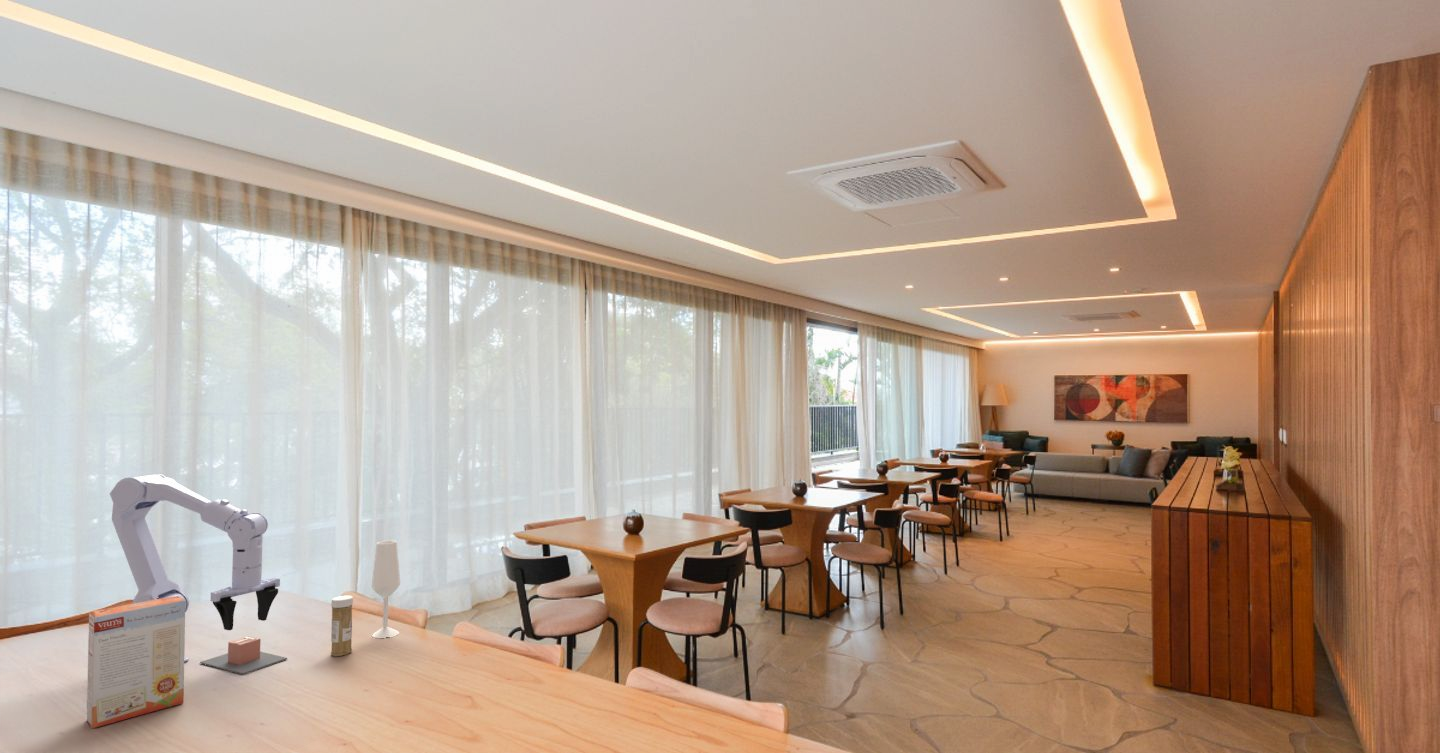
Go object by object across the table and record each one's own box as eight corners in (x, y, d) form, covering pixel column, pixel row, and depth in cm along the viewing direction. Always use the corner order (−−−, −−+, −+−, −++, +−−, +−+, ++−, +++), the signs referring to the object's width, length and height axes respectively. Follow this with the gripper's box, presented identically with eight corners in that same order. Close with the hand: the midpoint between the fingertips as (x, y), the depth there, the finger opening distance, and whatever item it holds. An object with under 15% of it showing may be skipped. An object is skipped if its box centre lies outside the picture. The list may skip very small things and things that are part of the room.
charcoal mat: (199, 663, 158) (200, 661, 159) (244, 649, 168) (245, 647, 168) (242, 674, 152) (242, 673, 152) (287, 659, 161) (287, 657, 161)
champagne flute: (364, 637, 176) (366, 543, 177) (384, 629, 183) (386, 538, 184) (385, 639, 174) (387, 545, 175) (405, 631, 181) (406, 540, 182)
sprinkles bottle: (352, 654, 164) (353, 598, 165) (331, 658, 162) (332, 601, 162) (350, 648, 168) (352, 593, 169) (329, 652, 166) (330, 596, 166)
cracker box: (176, 696, 141) (179, 593, 142) (184, 704, 137) (187, 599, 138) (84, 720, 130) (88, 609, 131) (90, 730, 126) (94, 615, 127)
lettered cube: (227, 661, 159) (228, 641, 159) (247, 655, 163) (248, 635, 163) (240, 664, 157) (240, 644, 157) (260, 658, 161) (260, 638, 161)
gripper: (224, 575, 153) (222, 636, 152) (288, 561, 166) (287, 618, 165) (205, 571, 156) (203, 632, 155) (270, 558, 169) (268, 614, 168)
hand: (245, 624), depth 160 cm, fingers open, 7 cm apart
